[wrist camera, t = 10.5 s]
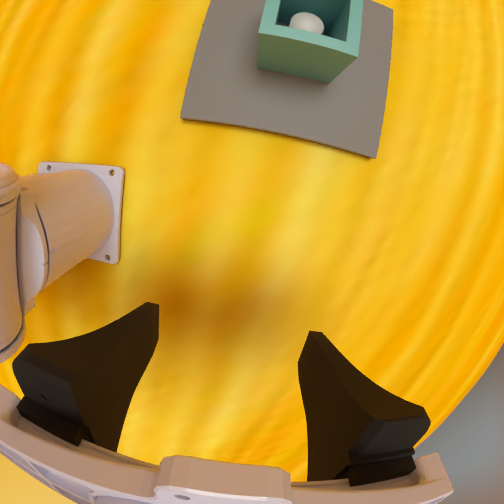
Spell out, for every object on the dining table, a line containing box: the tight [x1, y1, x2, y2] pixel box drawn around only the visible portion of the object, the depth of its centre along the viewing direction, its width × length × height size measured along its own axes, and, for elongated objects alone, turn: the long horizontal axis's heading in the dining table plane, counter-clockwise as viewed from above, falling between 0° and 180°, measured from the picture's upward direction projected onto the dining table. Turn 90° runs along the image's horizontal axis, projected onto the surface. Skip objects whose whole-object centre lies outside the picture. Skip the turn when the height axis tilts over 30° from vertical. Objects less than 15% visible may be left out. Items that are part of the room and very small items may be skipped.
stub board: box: [180, 0, 393, 159], centre depth 14 cm, size 14×14×4 cm
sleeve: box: [257, 0, 363, 84], centre depth 12 cm, size 5×5×6 cm
